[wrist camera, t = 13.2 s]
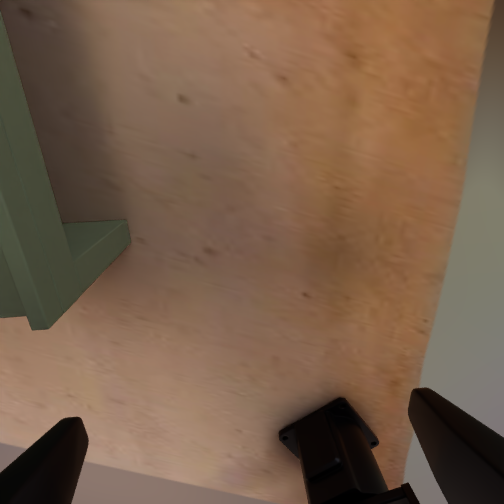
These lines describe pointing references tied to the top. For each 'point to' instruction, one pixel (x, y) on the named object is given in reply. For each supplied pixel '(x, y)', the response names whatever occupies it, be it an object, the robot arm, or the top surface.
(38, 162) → the shelf
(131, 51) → the top surface
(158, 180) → the top surface
